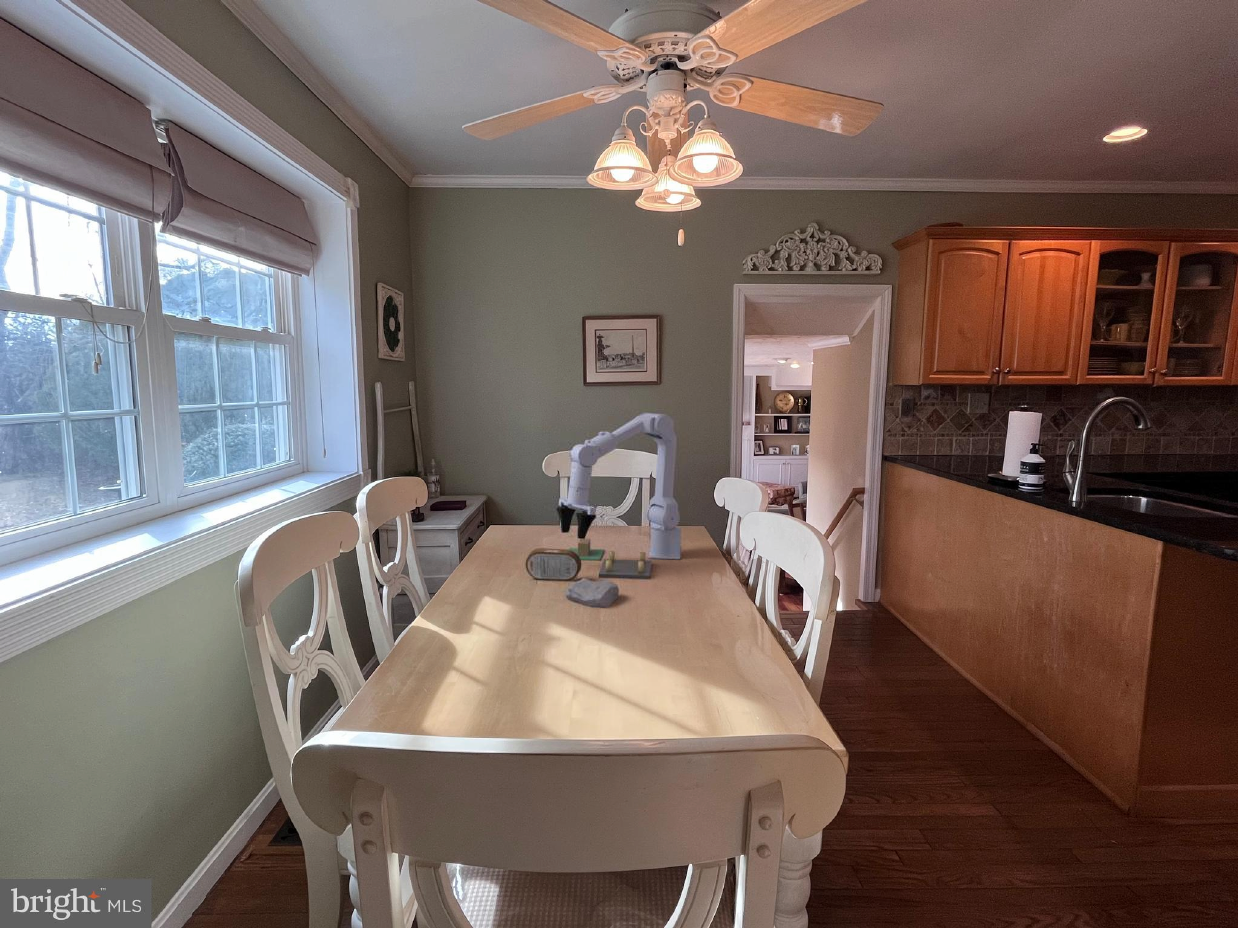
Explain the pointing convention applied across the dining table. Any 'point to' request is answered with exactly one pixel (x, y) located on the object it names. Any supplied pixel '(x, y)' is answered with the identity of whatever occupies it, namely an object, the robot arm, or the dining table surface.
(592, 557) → the board
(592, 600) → the stone block
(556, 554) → the tin
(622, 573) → the chassis
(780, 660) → the dining table surface
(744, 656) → the dining table surface
